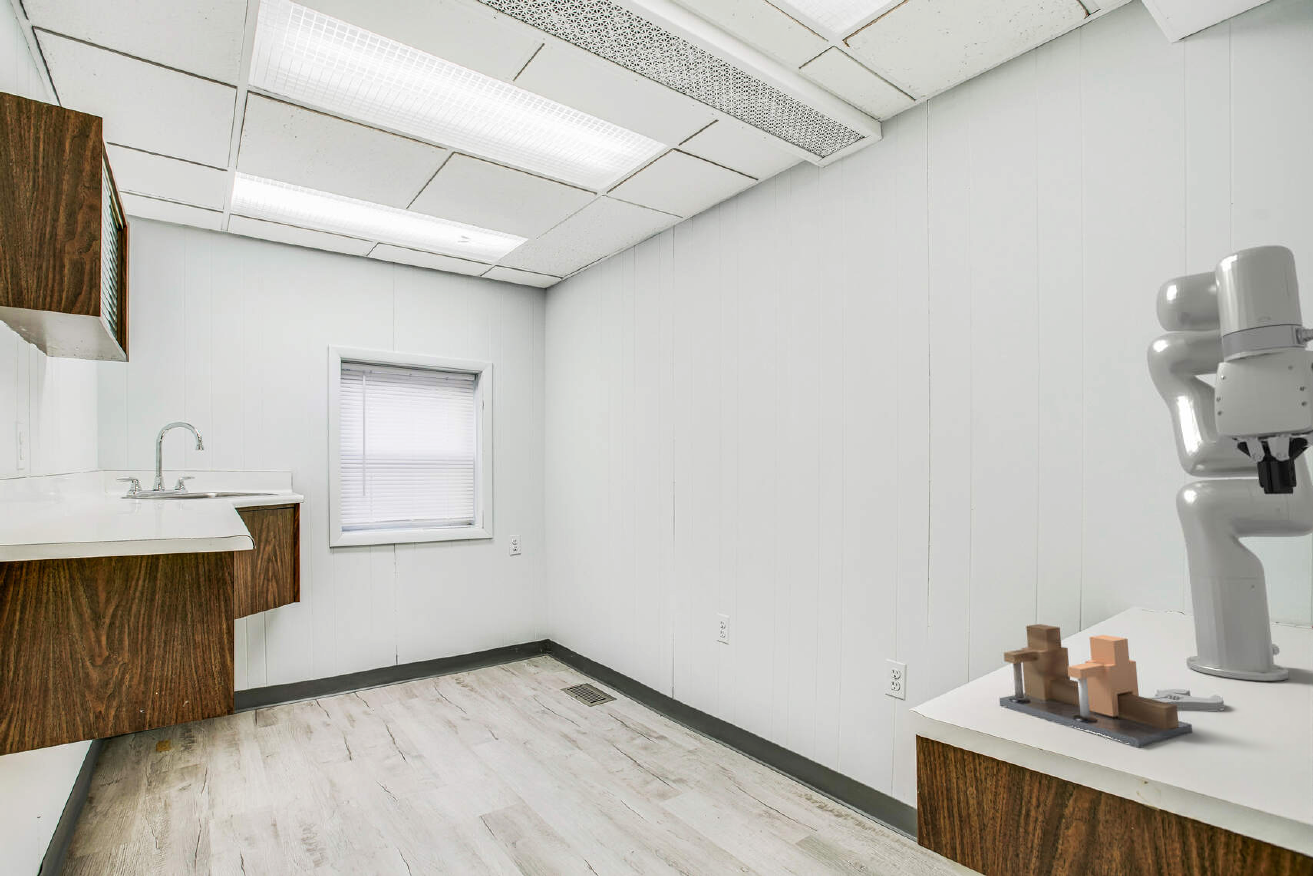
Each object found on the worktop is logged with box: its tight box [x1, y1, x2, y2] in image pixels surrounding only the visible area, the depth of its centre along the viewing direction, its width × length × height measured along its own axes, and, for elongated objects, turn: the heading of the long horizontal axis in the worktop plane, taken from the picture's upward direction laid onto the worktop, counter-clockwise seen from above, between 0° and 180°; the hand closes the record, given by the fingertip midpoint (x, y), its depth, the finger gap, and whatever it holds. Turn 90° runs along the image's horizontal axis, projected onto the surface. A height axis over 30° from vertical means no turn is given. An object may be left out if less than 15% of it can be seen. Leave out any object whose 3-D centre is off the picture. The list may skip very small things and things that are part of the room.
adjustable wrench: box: [1148, 688, 1225, 711], centre depth 90 cm, size 25×6×2 cm, turn 99°
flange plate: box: [998, 692, 1193, 749], centre depth 86 cm, size 11×18×1 cm, turn 25°
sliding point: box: [1068, 634, 1140, 717], centre depth 84 cm, size 10×3×9 cm, turn 115°
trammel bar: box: [1003, 623, 1179, 730], centre depth 86 cm, size 10×18×10 cm, turn 25°
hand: (1278, 493), depth 80 cm, fingers closed
